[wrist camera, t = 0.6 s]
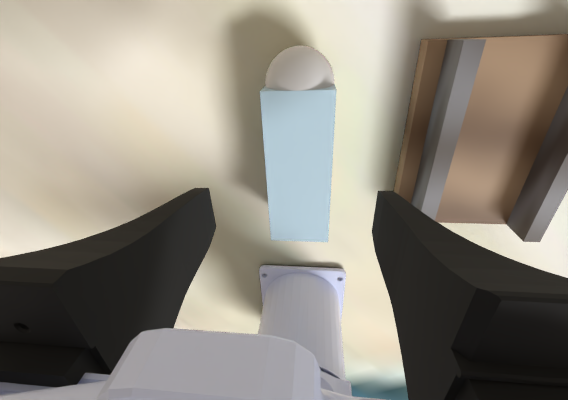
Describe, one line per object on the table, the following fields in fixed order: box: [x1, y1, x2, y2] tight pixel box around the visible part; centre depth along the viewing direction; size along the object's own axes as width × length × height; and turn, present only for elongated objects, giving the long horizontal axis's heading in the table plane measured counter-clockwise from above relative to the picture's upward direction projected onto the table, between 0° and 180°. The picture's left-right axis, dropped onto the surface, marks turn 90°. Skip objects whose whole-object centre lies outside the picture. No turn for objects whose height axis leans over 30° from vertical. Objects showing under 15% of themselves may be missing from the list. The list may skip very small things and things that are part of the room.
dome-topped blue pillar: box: [260, 45, 336, 242], centre depth 19 cm, size 12×4×4 cm, turn 2°
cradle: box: [394, 34, 568, 242], centre depth 18 cm, size 12×10×3 cm
